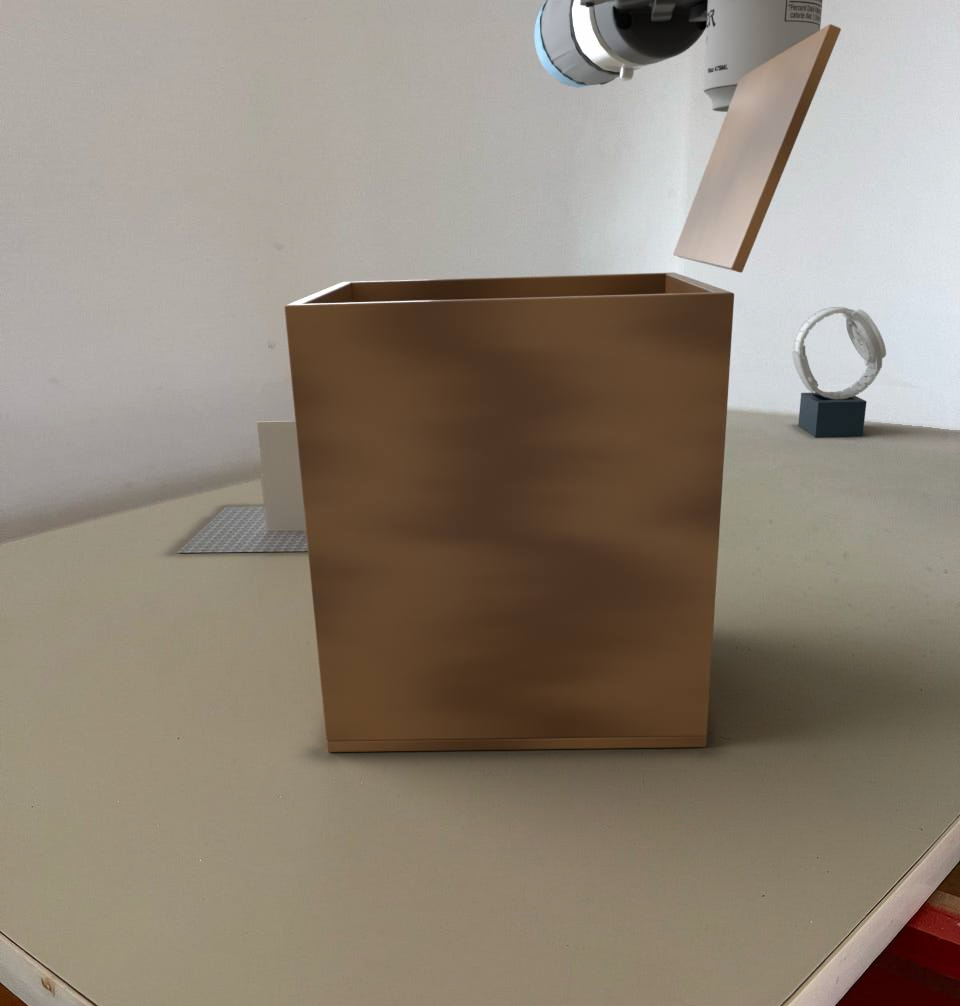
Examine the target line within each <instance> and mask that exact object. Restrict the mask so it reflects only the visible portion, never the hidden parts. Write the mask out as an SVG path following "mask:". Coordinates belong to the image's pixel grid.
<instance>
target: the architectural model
mask: <svg viewBox="0 0 960 1006" xmlns="http://www.w3.org/2000/svg"><path fill="white" fill-rule="evenodd" d="M256 425H257V434H258V442H259V451H260V462H261V471H260V479H261V480H260V483H261V489H262V500H263V506H262V505H261V506H260V505H259V506H256V505H255V506H226V507H224V509H222V510H221V511H220V512H219V513H218V514H217V515H216V516H215V517H214V518H213V519H212V520H211V521H210V522H209V523H208V524H206V525H205V526H204V527H203V528H202V529H201V530H200V531H199V532H198V533H197V534H196V535H194V537H192V538H191V539H190V540H189V541H188V542H187V543H186V544H185V545H184V546H183V547H182V548H181V549H179V550H178V551H177V553H178V554H180V553H182V554H184V553H186V554H187V553H190V554H191V553H260V552H263V553H264V552H267V553H268V552H273V553H274V552H308V545H307V535H306V525H305V514H304V504H303V494H302V483H301V473H300V463H299V452H298V442H297V432H296V421H295V420H271V421H270V420H269V421H268V420H267V421H264V420H263V421H262V420H261V421H257V422H256Z"/></svg>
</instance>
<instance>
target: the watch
mask: <svg viewBox="0 0 960 1006" xmlns="http://www.w3.org/2000/svg"><path fill="white" fill-rule="evenodd" d="M835 314H841V315H842V316H843V317H844V318H845V325H846V327H845V328H846V331H847V335H848V336H849V337H848V338H849V339H850V341H851V343H852V345H853V346H854V349H855V350H856V352H857V353H858V354H859V355H860V356H861V358H862V359H863V362H864V365H865V366H866V369H865V372H864V373H862V374H861V376H860V378H859V379H858V380H857V381H856V382H854V383H853V384H852V385H851V386H848V387H847V388H844V389H842V390H838V391H823V390H821V389H820V388H819V383H818V380H816V379H815V376H814V375H813V372H812V370H811V367H810V364H809V360H808V355H807V354H806V345H805V340H806V339H807V337H808V334H809V333H810V331H811V330H812V329H813V328H814V327H815V326H816V325H817V324H818V323H820V322H821V321H822V320H824V319H825V318H828V317H830V316H833V315H835ZM792 348H793V349H792V351H791V354H792V361H793V364H794V367H795V370H796V373H797V375H798V377H799V379H800V380H801V383H802V384H803V385H804V387H805V388H806V389H807V390H808V391H809V392H800V402H799V412H798V413H799V414H798V425H797V426H798V427H799V428H801V429H802V430H804V431H806V432H807V433H808V434H810V435H811V436H813V437H814V438H831V437H834V438H835V437H836V438H837V437H863V435H864V427H865V418H866V411H867V400H865V399H863V398H861V397H859V396H858V395H859V394H860V393H862V392H864V391H865V390H867V388H869V386H871V384H873V382H874V381H875V380H876V377H877V376H878V375H879V373H880V371H881V369H882V367H883V359H884V358H885V357H886V356H887V349H886V348H887V347H886V345H885V342H884V339H883V337H882V334H881V332H880V330H879V329H878V327H877V325H876V323H875V322H874V320H873V319H872V317H871V316H870V315H869V314H868V313H867V312H866V311H864V310H863V309H861V308H858V309H857V310H855V309H851V308H847V307H842V306H831V307H827V308H822V309H820V310H818V311H817V312H814V313H813V314H812V315H810V316H808V318H807V319H806V320H804V321H803V323H802V324H801V325H800V327H799V329H798V330H797V332H796V334H795V337H794V340H793V347H792Z"/></svg>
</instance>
